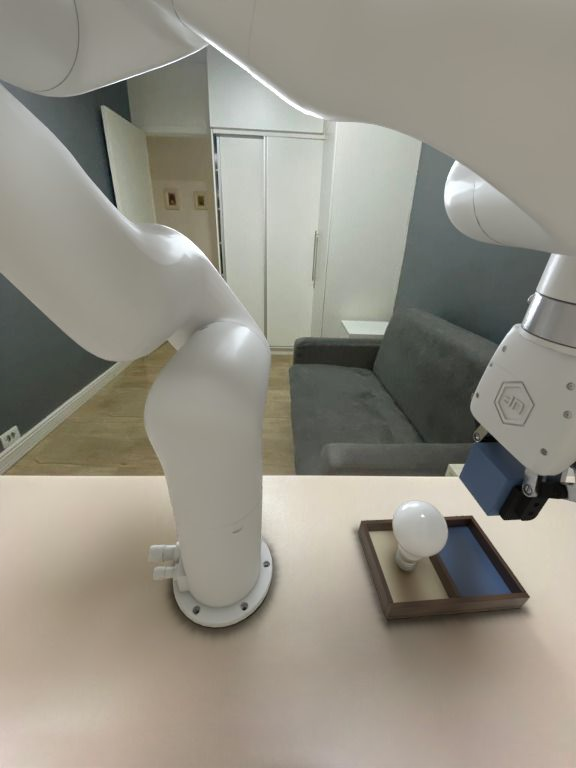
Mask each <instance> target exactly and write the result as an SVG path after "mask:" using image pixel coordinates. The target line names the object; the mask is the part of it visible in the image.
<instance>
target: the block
mask: <svg viewBox="0 0 576 768" xmlns="http://www.w3.org/2000/svg"><path fill="white" fill-rule="evenodd" d="M525 468H526V467H525V466H524V465H523V464H521V463H520V462H519V461H518V460H517V459H516V458H515V457H514V456H513V455H512V454H511V453H510V452H509V451H508V450H507V449H506V448H505V447H504V446H503V445H501V444H500V443H499V442H488V443H477V442H473V443H472V446H471V448H470V451H469V454H468V455H467V458H466V460H465V462H464V464H463V467H462V469H461V471H460V473H459V476H458V479H459V480H460V481H461V482H462V484H463V486H464V487H465V488H466V489H467V491H468V492H469V494H470V495H471V496H472V498H473V499H474V500H475V501H476V503H477V504H478V506H479V507H480V508H481V510H482V511H483V512H484V514H485V515H486V516H487V517H499V516H500V515H499V512H500V510H501V508H502V507H503V505H504V503H505V501H506V500H507V498H508V496H509V494H510V493H511V491H512V489H513V488H514V487H516V486H522V483H523V478H524V473H525ZM546 477H547V475H546V476H543V478H542V481H544V482H546Z"/></svg>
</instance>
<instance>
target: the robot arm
mask: <svg viewBox="0 0 576 768" xmlns="http://www.w3.org/2000/svg"><path fill="white" fill-rule="evenodd" d="M209 45H211V46H212V47H214V49H216V50H217V51H219V52H220V53H221V54H223V55H224V56H225V57H227V58H228V59H229V60H230V61H232V62H234V63H235V64H236V65H238V66H239V67H240V68H242V69H243V70H245V71H246V72H247V74H248V73H249V74H250V76H252V77H253V78H254V79H255V80H256V81H258V83H261V84H262V85H263V86H265V87H266V88H267V89H269V90H270V91H271V92H272V93H274V94H275V95H276V96H278V97H279V99H281V100H282V101H284V102H285V103H287V104H288V105H290V106H292V107H293V108H294V109H296V110H297V111H299V112H301V113H302V114H304V115H308V116H310V117H312V118H313V117H314V118H316V119H320V120H323V121H327V122H336V123H359V124H367V125H372V126H373V125H374V126H378V127H382V128H385V129H389V130H392V131H395V132H398V133H400V134H403V135H406V136H408V137H410V138H413V139H415V140H418V141H420V142H422V143H424V144H426V145H427V146H430V147H432V148H433V149H435V150H437V151H439V152H441V153H443V154H445V155H446V156H448V157H450V158H451V159H453V160H454V162H453V165H452V166H451V167H450V171H449V172H448V175H447V178H446V181H445V185H444V189H443V190H444V191H443V202H444V203H443V204H444V208H445V213H446V215H447V217H448V219H449V221H450V223H451V224H452V225H453V226H454V228H455V229H457V230H458V231H459V232H460V233H461V234H463V235H465V236H466V237H468V238H470V239H472V240H475V241H478V242H481V243H485V244H491V245H497V246H502V247H508V248H521V249H528V250H534V251H539V252H543V253H549V254H550V255H549V258H548V261H547V263H546V265H545V268H544V270H543V272H542V275H541V277H540V280H539V281H538V284H537V286H536V289H535V291H534V293H533V294H531V295H530V296H529V297H528V298H527V301H526V305H527V309H526V312H525V314H524V317H523V318H522V321H521V323H515V324H514V325H512V326H511V328H510V330H509V331H508V332H507V333H506V334H505V336H504V337H503V339H502V340H501V342H500V344H499V345H498V347H497V348H496V350H495V352H494V354H493V355H492V356H491V358H490V360H489V363H488V364H487V366H486V367H485V370H484V372H483V374H482V376H481V378H480V380H479V382H478V385H477V386H476V389H475V391H474V392H473V393H472V394H471V395H470V400H471V401H470V406H469V407H470V408H469V409H470V413H471V415H472V416H473V417H474V418H473V419H474V424H475V430H474V431H473V434H472V439H473V441H474V443H488V442H499V443H500V444H501V445H503V446H504V447H505V448H506V449H507V450H508V451H509V452H510V453H511V454H512V455H513V456H514V457H515V458H516V459H517V460H518V461H519V462H520V463H521V464H523V465H524V466H525V467H526V468H525V473H524V478H523V483H522V486H516V487H514V488H513V489H512V491H511V493H510V494H509V496H508V498H507V500H506V501H505V503H504V505H503V507H502V508H501V510H500V512H499V515H500V518H501V519H502V520H503V521H522V522H529V521H534V519H536V518H537V517H538V515H539V514H540V512H542V509H544V507H545V505H546V503H547V502H548V500H549V499H552V500H565V501H568V502H572V503H576V0H0V80H1V81H2V82H5V83H8V84H9V85H11V86H14V87H16V88H19V89H21V90H23V91H26V92H29V93H33V94H36V95H39V96H44V97H51V98H69V97H74V96H80V95H84V94H87V93H89V92H93V91H96V90H99V89H101V88H102V89H103V88H104V87H107V86H111V85H113V84H116V83H119V82H122V81H125V80H128V79H131V78H134V77H137V76H139V75H142V74H146V73H149V72H151V71H154V70H157V69H160V68H163V67H165V66H167V65H171V64H173V63H176V62H178V61H181V60H182V59H185V58H187V57H190V56H191V55H193V54H196V53H197V52H200V51H201V50H203V49H204V48H206V47H208V46H209ZM0 274H1V275H3V276H4V278H5V279H7V280H8V281H9V282H10V284H12V285H13V286H14V287H15V288H16V289H17V290H18V291H19V292H20V293H21V294H23V296H25V297H26V298H27V299H28V300H29V301H30V302H31V303H32V304H33V305H34V306H35V307H37V309H38V310H40V311H41V312H42V313H43V314H44V315H45V316H46V317H47V318H48V319H49V320H50V321H51V322H52V323H53V324H55V325H56V326H57V327H58V328H59V329H60V330H61V331H62V332H63V333H64V334H65V335H66V336H68V337H69V338H70V339H71V340H72V341H73V342H75V343H76V344H77V345H78V346H80V347H81V348H82V349H84V351H86V352H87V353H90V354H91V355H94V356H95V357H97V358H99V359H102V360H104V361H108V362H117V363H126V362H132V361H135V360H138V359H141V358H144V357H146V356H148V355H149V354H151V353H152V352H154V351H155V350H157V349H159V347H161V346H162V345H163V344H164V343H166V341H167V342H168V343H169V344H170V345H171V346H172V347H173V348H174V349H175V350H176V352H175V353H174V354H173V355H172V357H171V358H170V359H169V360H168V361H167V363H165V364H164V367H162V369H161V370H160V372H159V373H158V374H157V376H156V377H155V379H154V381H153V383H152V384H151V387H150V389H149V391H148V393H147V396H146V400H145V402H144V403H145V404H144V409H143V425H144V430H145V434H146V436H147V438H148V441H149V443H150V445H151V447H152V449H153V451H154V453H155V455H156V456H157V459H158V461H159V463H160V466H161V468H162V471H163V474H164V478H165V482H166V486H167V490H168V491H167V492H168V495H169V496H168V497H169V501H170V506H171V509H172V513H173V519H174V524H175V529H176V534H177V539H178V541H176V542H175V544H152V545H150V547H149V549H148V553H147V561H148V563H164V562H165V561H173V563H174V565H171V566H166V565H162V566H155V567H154V568H153V572H152V579H153V581H159V580H161V581H162V580H168V579H172V587H173V588H172V589H173V595H174V598H175V600H176V603H177V606H178V607H179V609H180V610H181V612H182V613H183V614H184V615H185V617H186V618H188V619H189V620H191V621H192V622H194V623H195V624H198V625H200V626H203V627H209V628H226V627H229V626H232V625H235V624H237V623H239V622H241V621H243V620H245V619H247V617H249V616H250V615H252V614H253V613H254V612H255V611H256V610H257V609H258V608H259V606H261V604H262V603H263V601H264V599H265V598H266V596H267V594H268V592H269V590H270V587H271V584H272V578H273V558H272V554H271V551H270V548H269V546H268V544H267V543H266V541H265V540H264V538H263V537H262V533H263V532H262V529H263V525H262V524H263V492H264V491H263V490H264V489H263V488H264V487H263V475H264V474H263V472H264V469H263V468H264V466H263V465H264V464H263V460H264V457H263V433H264V420H265V410H266V404H267V403H266V402H267V396H268V391H269V380H270V375H271V370H272V369H271V368H272V353H271V352H272V351H271V347H270V345H269V342H268V340H267V338H266V336H265V334H264V333H263V331H262V330H261V327H260V326H259V325H258V324H257V322H256V320H255V319H254V318H253V316H252V315H251V314H250V313H249V311H248V310H247V308H246V307H245V306H244V305H243V303H242V302H241V301H240V299H239V298H238V297H237V295H236V294H235V293H234V291H233V289H232V288H231V287H230V285H229V284H228V283H227V281H226V280H225V278H223V276H222V275H221V274H220V273H219V271H218V270H217V269H216V267H215V266H214V265H213V263H212V262H211V261H210V259H209V258H208V257H207V256H206V255H205V253H204V252H203V251H202V250H201V249H200V248H199V246H197V245H196V244H195V243H194V242H193V241H191V240H190V239H189V238H188V237H187V236H186V235H184V234H183V233H181V232H179V231H178V230H176V229H174V228H171V227H169V226H167V225H163V224H160V223H154V222H132V221H131V220H129V219H128V218H127V217H126V216H124V215H123V213H121V212H120V210H119V209H118V208H117V207H116V206H115V205H114V204H113V202H111V201H110V199H109V198H108V197H107V196H106V195H105V194H104V193H103V191H102V190H101V189H100V188H99V187H98V186H97V184H96V183H95V182H94V181H93V180H92V178H90V176H89V175H88V173H86V171H85V170H84V169H83V167H82V166H81V165H80V163H79V162H78V160H76V157H74V155H73V154H72V152H70V151H69V150H68V148H67V147H66V145H64V144H63V143H62V141H61V140H60V139H59V138H58V137H57V136H56V135H55V133H53V132H52V131H51V130H50V128H48V126H46V125H45V124H44V123H43V122H42V121H41V120H40V119H39V118H38V117H37V116H35V114H34V113H32V112H31V111H30V110H29V109H28V108H27V107H26V106H25V105H24V104H23V103H22V102H20V100H18V99H17V98H16V97H15V96H14V95H13V94H12V93H11V92H9V90H7V89H6V87H4V86H3V84H2V83H0ZM569 469H572V470H573V475H574V482H570V481H569V482H568V481H567V477H568V474H569V473H568V472H569ZM546 475H547V477H546V482H544V481H542V478H543V476H546ZM243 609H245V610H243ZM197 612H198V613H197Z"/></svg>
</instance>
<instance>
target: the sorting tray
mask: <svg viewBox="0 0 576 768" xmlns="http://www.w3.org/2000/svg"><path fill="white" fill-rule="evenodd" d="M443 517H444V519H445V521H446V523H447V527H448V539H447V542H446V545H445V546H444V548H443V549H442V550H441V551H440V552H439V553H437V554H435V555H433V556H429V557H423V558H421V559H420V560H418V562H417V565H416V567H415V569H414V570H413V571H404V570H402V569H401V568H400V567H399V566H398V565H397V563H396V561H395V556H396V553H397V550H398V541H397V539H396V537H395V535H394V532H393V527H392V520H393V518H389V519H388V518H387V519H366V520H360V522H359V527H358V530H357V532H358V536H359V539H360V542H361V545H362V548H363V552H364V555H365V557H366V561H367V564H368V567H369V570H370V573H371V576H372V580H373V583H374V585H375V588H376V592H377V595H378V599H379V601H380V605H381V607H382V610H383V614H384V617H385V619H386V620H394V619H406V618H418V617H419V618H420V617H429V616H441V615H454V614H465V613H477V612H489V611H501V610H511V609H512V610H513V609H522V608H523V607H524V605H525V604H526V603H527V602H528V600H529V599H531V596H530V595H529V593H528V592H527V590H526V589H525V588H524V586H523V584H522V583H521V581H519V578H517V576H516V575H515V574H514V572H513V570H512V569H511V567H509V565H508V563H507V562H506V561H505V559H504V558H503V556H502V555H501V554H500V552H499V551H498V549H497V548H496V547H495V545H494V544H493V542H492V541H491V540H490V538H489V537H488V536H487V534H486V532H485V531H484V530H483V528H482V527H481V525H480V524H479V523H478V521H477V520H476V519H475V517H474V516H473V515H455V516H454V515H450V516H443Z"/></svg>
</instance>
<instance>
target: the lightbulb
mask: <svg viewBox="0 0 576 768" xmlns="http://www.w3.org/2000/svg"><path fill="white" fill-rule="evenodd" d="M444 517H445V516H444V515H443V513H441V511H439V509H438V508H437V507H435V506H434V505H432V504H431V503H429V502H427V501H424V500H420V499H411V500H407V501H405V502H403V503H402V504H400V505H399V506H398V507H397V508H396V509H395V511H394V514H393V515H392V519H393V520H392V527H393V532H394V535H395V537H396V539H397V541H398V550H397V553H396V556H395V561H396V563H397V565H398V566H399V567H400V568H401V569H402V570H404V571H413V570H414V569H415V567H416V565H417V562H418V560H420V559H421V558H423V557H429V556H433V555H435V554H437V553H439V552H440V551H441V550H442V549H443V548H444V546H445V545H446V542H447V539H448V527H447V523H446V521H445V519H444Z"/></svg>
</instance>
